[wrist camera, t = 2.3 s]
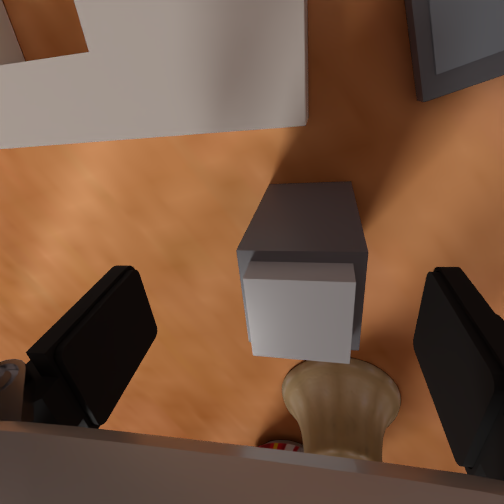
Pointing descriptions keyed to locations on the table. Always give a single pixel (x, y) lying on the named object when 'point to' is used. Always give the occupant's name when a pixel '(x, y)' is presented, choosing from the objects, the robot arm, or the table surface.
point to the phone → (454, 44)
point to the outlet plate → (160, 73)
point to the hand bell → (342, 407)
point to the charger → (304, 272)
